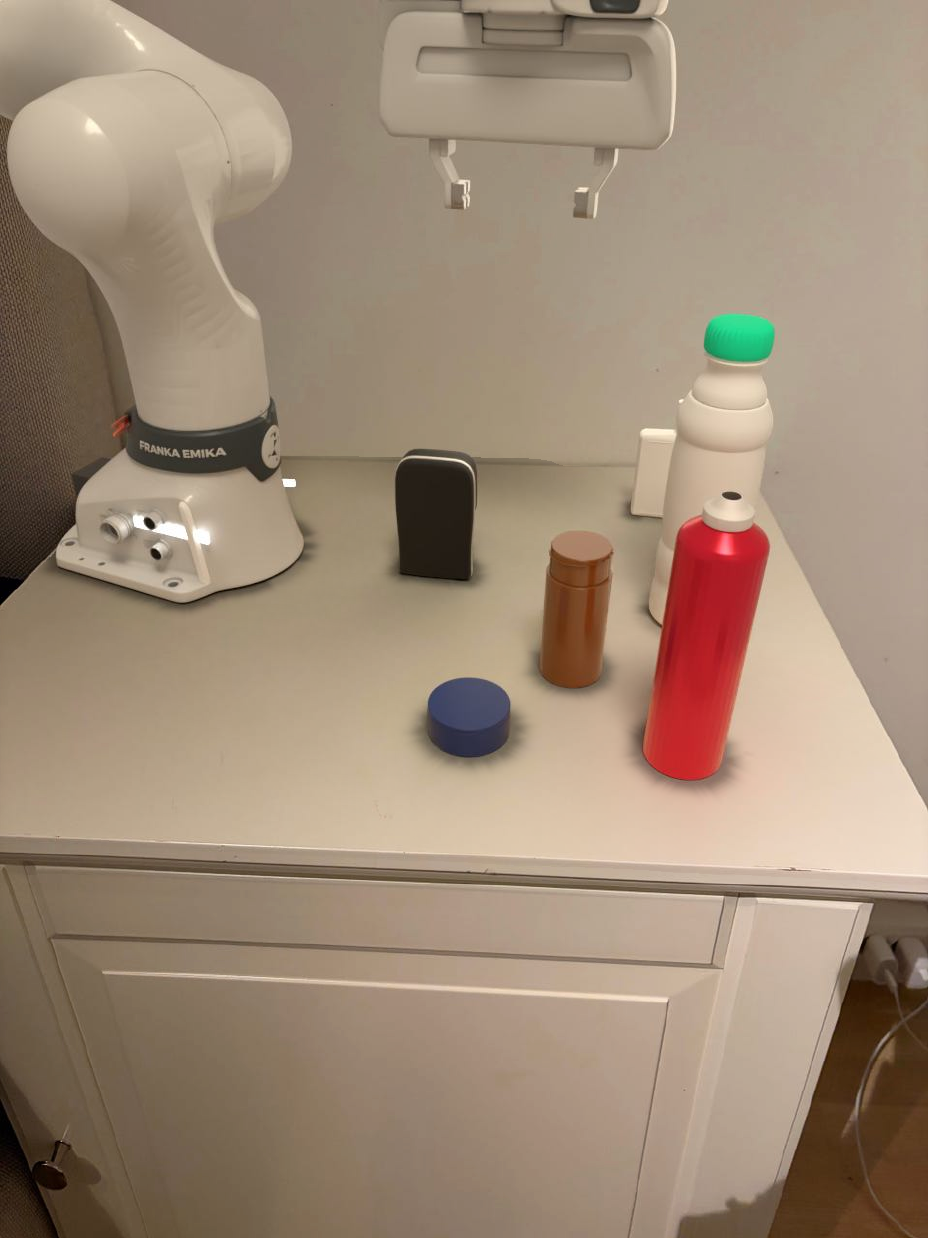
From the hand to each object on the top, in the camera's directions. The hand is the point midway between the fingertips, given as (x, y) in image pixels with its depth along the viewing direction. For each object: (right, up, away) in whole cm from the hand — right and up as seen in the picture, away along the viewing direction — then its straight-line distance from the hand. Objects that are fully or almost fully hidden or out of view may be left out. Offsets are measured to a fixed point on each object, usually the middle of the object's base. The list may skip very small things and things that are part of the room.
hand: (520, 212), depth 67 cm
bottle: (+11, -39, -2) cm, 41 cm away
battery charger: (-6, -25, +18) cm, 31 cm away
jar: (+4, -33, +6) cm, 34 cm away
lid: (-4, -36, -2) cm, 36 cm away
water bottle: (+15, -29, +12) cm, 35 cm away
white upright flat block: (+17, -19, +27) cm, 37 cm away
